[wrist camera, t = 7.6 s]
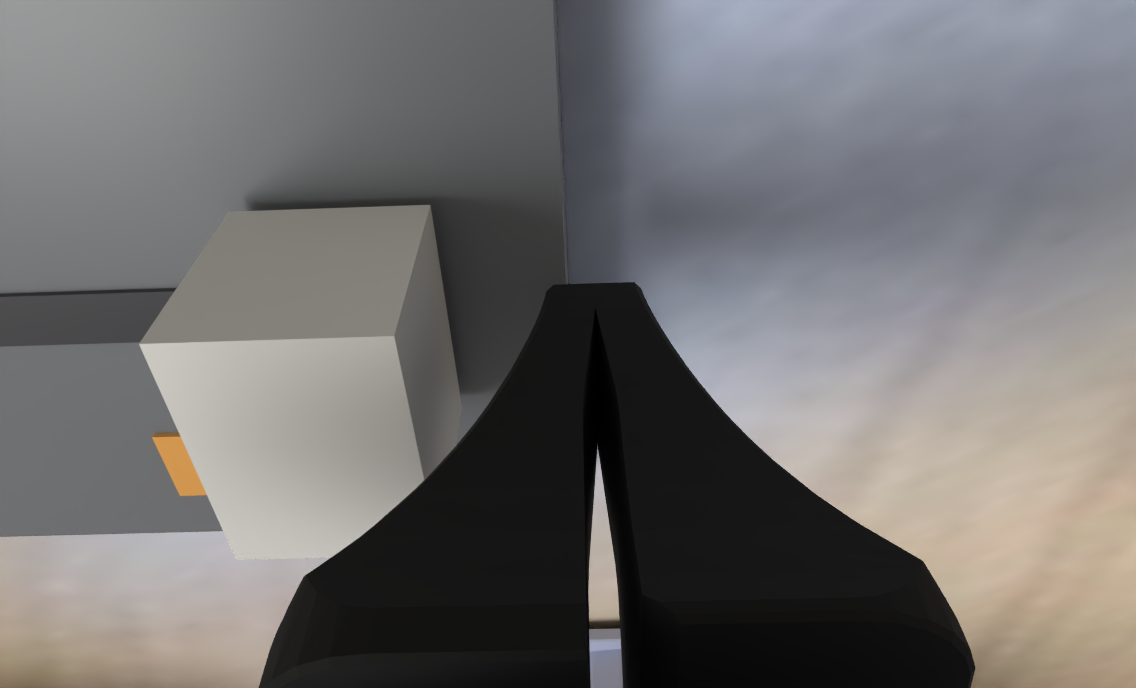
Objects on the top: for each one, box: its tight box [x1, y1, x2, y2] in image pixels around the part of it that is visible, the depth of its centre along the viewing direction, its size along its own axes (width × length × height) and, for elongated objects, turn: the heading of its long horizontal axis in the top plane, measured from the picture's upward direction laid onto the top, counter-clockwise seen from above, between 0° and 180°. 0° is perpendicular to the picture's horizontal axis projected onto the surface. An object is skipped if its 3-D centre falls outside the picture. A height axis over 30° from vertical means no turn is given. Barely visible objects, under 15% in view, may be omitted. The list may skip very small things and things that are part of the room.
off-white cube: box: [139, 205, 462, 560], centre depth 12 cm, size 3×4×3 cm
